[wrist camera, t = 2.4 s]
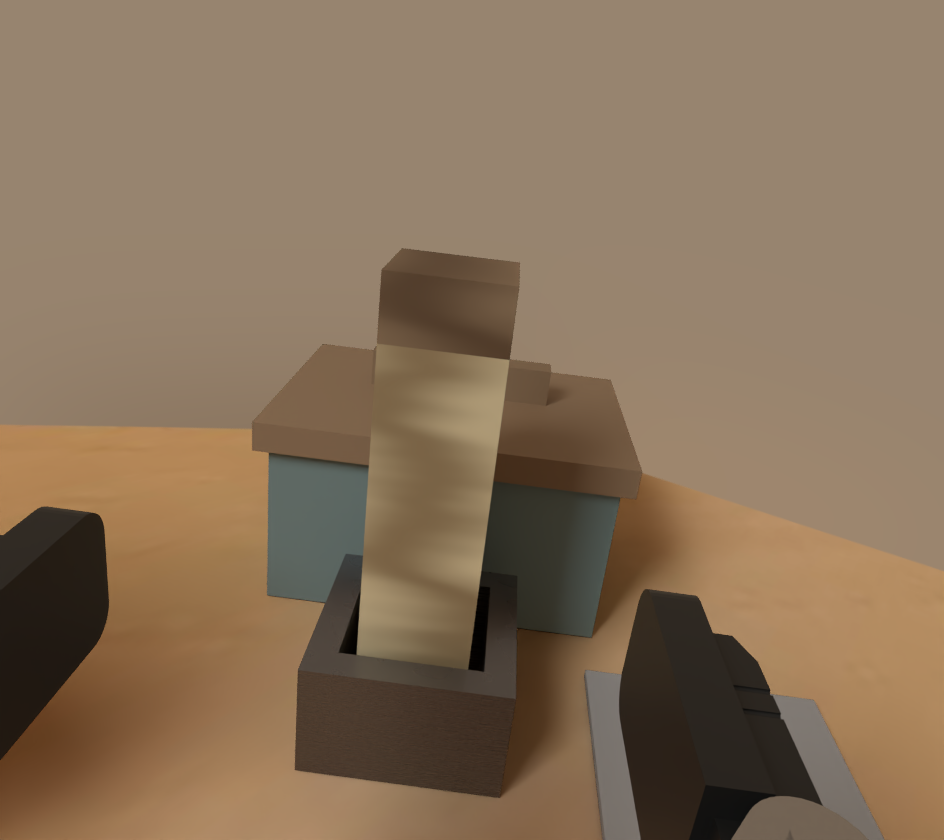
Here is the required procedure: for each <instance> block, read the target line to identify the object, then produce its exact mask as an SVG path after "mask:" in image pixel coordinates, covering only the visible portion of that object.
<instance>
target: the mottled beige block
mask: <svg viewBox="0 0 944 840" xmlns="http://www.w3.org/2000/svg"><path fill="white" fill-rule="evenodd" d="M519 273H520V263H518V262H510V261H501V260H494V259H485V258H477V257H469V256H460V255H452V254H444V253H436V252H428V251H419V250H411V249H403V248H402V249H401V250H400V251H399V252H398V253H397V254H396V255H395V256H394V257H393V258H392V259H391V261H390V262H389V263H388V264H387V265H386V266H385V267H384V268H383V269H382V273H381V288H380V303H379V318H378V335H377V349H376V365H375V380H374V395H373V411H372V426H371V442H370V457H369V472H368V488H367V503H366V519H365V534H364V549H363V565H362V580H361V596H360V611H359V627H358V642H357V655H360V656H367V657H375V658H383V659H390V660H398V661H405V662H413V663H420V664H428V665H436V666H443V667H451V668H458V669H466V670H468V666H469V659H470V651H471V644H472V636H473V629H474V621H475V614H476V606H477V599H478V591H479V584H480V576H481V569H482V562H483V554H484V547H485V539H486V532H487V524H488V517H489V509H490V502H491V494H492V487H493V479H494V472H495V465H496V457H497V450H498V442H499V435H500V427H501V420H502V412H503V405H504V397H505V390H506V382H507V375H508V367H509V360H510V353H511V344H512V338H513V330H514V323H515V315H516V307H517V300H518V293H519V278H520V276H519V275H520V274H519Z"/></svg>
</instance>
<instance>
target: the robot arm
mask: <svg viewBox="0 0 944 840" xmlns="http://www.w3.org/2000/svg"><path fill="white" fill-rule="evenodd" d="M108 609H109V596H108V580H107V564H106V549H105V533H104V525H103V521H102V519H101V517H100V516H99V515H98V514H96V513H90V512H83V511H76V510H68V509H61V508H53V507H41V508H38V509H37V510H35V511H34V512H33V513H31V514H30V515H29V516H27V517H26V518H25V519H24V520H22V521H21V522H20V523H18V524H17V525H16V526H15V527H13V528H12V529H11V530H9V531H8V532H7V533H6V534H4V535H0V760H1V759H2V758H3V756H4V755H5V754H6V753H7V752H8V750H9V749H10V748H11V747H12V746H13V744H14V743H15V742H16V741H17V740H18V738H19V737H20V736H21V735H22V733H23V732H24V731H25V730H26V729H27V727H28V726H29V725H30V724H31V723H32V721H33V720H34V719H35V718H36V717H37V715H38V714H39V713H40V712H41V711H42V709H43V708H44V707H45V706H46V705H47V703H48V702H49V701H50V700H51V698H52V697H53V696H54V695H55V694H56V692H57V691H58V690H59V689H60V688H61V686H62V685H63V684H64V683H65V682H66V680H67V679H68V678H69V677H70V676H71V674H72V673H73V672H74V671H75V670H76V668H77V667H78V666H79V665H80V663H81V662H82V661H83V660H84V659H85V657H86V656H87V655H88V654H89V653H90V651H91V650H92V649H93V648H94V646H95V645H96V644H97V642H98V640H99V639H100V637H101V634H102V632H103V630H104V627H105V624H106V620H107V616H108ZM619 716H620V723H621V729H622V735H623V741H624V746H625V752H626V758H627V764H628V769H629V775H630V781H631V787H632V792H633V798H634V804H635V810H636V815H637V821H638V827H639V832H640V838H641V840H869V839H868V838H867V837H866V836H865V835H864V834H863V833H862V832H861V831H860V830H859V829H857V828H856V827H855V826H854V825H852V824H851V823H850V822H849V821H847V820H846V819H844V818H843V817H841V816H840V815H838V814H837V813H835V812H833V811H832V810H830V809H828V808H826V807H824V806H823V805H822V802H821V800H820V798H819V796H818V794H817V791H816V789H815V787H814V785H813V783H812V780H811V778H810V776H809V774H808V772H807V769H806V767H805V765H804V763H803V761H802V758H801V756H800V754H799V752H798V750H797V747H796V745H795V743H794V741H793V739H792V736H791V734H790V732H789V730H788V728H787V725H786V723H785V721H784V719H781V712H780V710H779V708H778V706H777V704H776V701H775V699H774V697H773V695H770V688H769V686H768V684H767V682H766V679H765V677H764V675H763V673H762V671H761V668H760V666H759V664H758V662H757V661H756V660H755V659H754V658H753V657H752V656H751V655H750V654H749V653H748V652H747V651H746V650H745V649H744V648H743V646H742V645H741V644H740V643H739V642H738V641H737V640H736V639H735V638H734V637H733V636H729V635H722V634H715V633H713V632H712V630H711V627H710V625H709V622H708V620H707V617H706V614H705V612H704V609H703V607H702V604H701V602H700V600H699V598H698V597H697V596H694V595H686V594H679V593H672V592H664V591H657V590H649V589H645V590H644V591H643V593H642V595H641V597H640V600H639V604H638V608H637V612H636V616H635V620H634V624H633V629H632V633H631V637H630V641H629V646H628V650H627V654H626V658H625V663H624V667H623V671H622V676H621V682H620V691H619Z"/></svg>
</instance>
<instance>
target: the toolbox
mask: <svg viewBox="0 0 944 840" xmlns="http://www.w3.org/2000/svg"><path fill="white" fill-rule="evenodd" d="M376 349H377V346H376V347H375V349H374V350H367V349H359V348H350V347H343V346H335V345H327V344H322V346H321V347H320V348H319V349H318V350H317V351H316V352H315V353H314V354H313V355H312V357H311V358H310V359H309V360H308V361H307V362H306V363H305V364H304V365H303V366H302V368H301V369H300V370H299V371H298V372H297V373H296V375H295V376H293V378H292V379H291V380H290V381H289V382H288V383H287V384H286V385H285V386H284V388H283V389H282V390H281V391H280V392H279V393H278V394H277V395H276V396H275V397H274V399H273V400H272V401H271V402H270V403H269V404H268V405H267V406H266V407H265V408H264V410H263V411H262V412H261V413H260V414H259V415H258V416H257V417H256V418H255V420H254V421H253V422H252V450H253V451H261V452H268V453H269V483H268V572H267V595H271V596H278V597H286V598H293V599H301V600H309V601H316V602H324V603H326V600H327V598H328V596H329V593H330V591H331V588H332V586H333V583H334V581H335V579H336V576H337V574H338V571H339V569H340V566H341V564H342V561H343V559H344V557H345V554H353V555H361V556H363V549H364V534H365V519H366V503H367V488H368V472H369V457H370V442H371V426H372V411H373V395H374V380H375V365H376ZM641 475H642V470H641V467H640V464H639V461H638V458H637V455H636V452H635V450H634V446H633V443H632V441H631V438H630V435H629V432H628V429H627V426H626V423H625V421H624V418H623V414H622V412H621V409H620V406H619V403H618V400H617V397H616V394H615V391H614V388H613V385H612V383H611V380H607V379H599V378H591V377H583V376H575V375H567V374H559V373H551V366H550V364H542V363H534V362H526V361H517V360H509V367H508V375H507V382H506V390H505V397H504V405H503V412H502V420H501V427H500V435H499V442H498V450H497V457H496V465H495V472H494V479H493V487H492V494H491V502H490V509H489V517H488V524H487V532H486V539H485V547H484V554H483V562H482V569H481V571H484V572H492V573H500V574H507V575H515V576H517V628H523V629H530V630H538V631H545V632H553V633H561V634H568V635H576V636H584V637H592V632H593V628H594V623H595V618H596V613H597V608H598V604H599V599H600V594H601V589H602V584H603V579H604V575H605V570H606V565H607V560H608V555H609V550H610V546H611V541H612V536H613V531H614V526H615V522H616V517H617V512H618V507H619V502H620V497H621V498H629V499H636V498H637V493H638V488H639V484H640V479H641Z"/></svg>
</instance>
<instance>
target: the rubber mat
mask: <svg viewBox="0 0 944 840" xmlns="http://www.w3.org/2000/svg"><path fill="white" fill-rule="evenodd" d="M621 676H622V675H621V674H613V673H605V672H598V671H590V670H585V675H584V678H585V687H586V696H587V705H588V714H589V723H590V731H591V740H592V749H593V758H594V767H595V776H596V785H597V794H598V803H599V812H600V821H601V830H602V838H603V840H641V838H640V832H639V827H638V821H637V815H636V810H635V804H634V798H633V792H632V787H631V781H630V775H629V769H628V764H627V758H626V752H625V746H624V741H623V735H622V729H621V723H620V716H619V691H620V682H621ZM770 695H773V694H770ZM773 697H774V699H775V701H776V704H777V706H778V708H779V710H780V712H781V719H784V721H785V723H786V725H787V728H788V730H789V732H790V734H791V736H792V739H793V741H794V743H795V745H796V747H797V750H798V752H799V754H800V756H801V758H802V761H803V763H804V765H805V767H806V769H807V772H808V774H809V776H810V778H811V780H812V783H813V785H814V787H815V789H816V791H817V794H818V796H819V798H820V800H821V802H822V805H823V806H824V807H826V808H828V809H830V810H832V811H833V812H835V813H837V814H838V815H840V816H841V817H843V818H844V819H846V820H847V821H849V822H850V823H851V824H852V825H854V826H855V827H856V828H857V829H859V830H860V831H861V832H862V833H863V834H864V835H865V836H866V837H867V838H868V839H869V840H884V838H883V836H882V834H881V832H880V830H879V828H878V826H877V824H876V822H875V820H874V818H873V816H872V814H871V812H870V810H869V808H868V806H867V804H866V802H865V800H864V798H863V796H862V794H861V792H860V790H859V788H858V786H857V784H856V782H855V780H854V778H853V776H852V774H851V773H850V771H849V769H848V767H847V765H846V763H845V761H844V759H843V757H842V755H841V753H840V751H839V749H838V747H837V745H836V743H835V741H834V739H833V737H832V735H831V733H830V731H829V729H828V727H827V725H826V723H825V721H824V719H823V717H822V715H821V713H820V711H819V709H818V707H817V705H816V703H815V701H814V700H810V699H803V698H795V697H788V696H780V695H773Z"/></svg>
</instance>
